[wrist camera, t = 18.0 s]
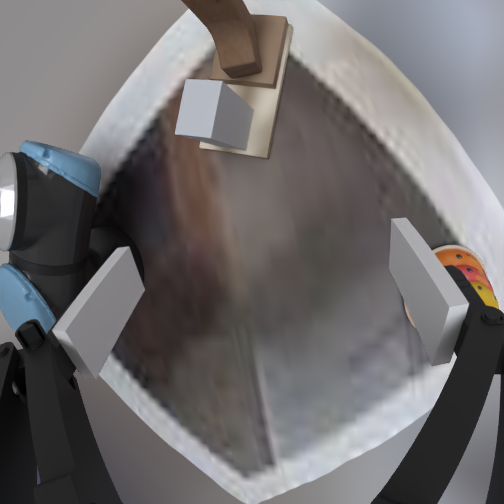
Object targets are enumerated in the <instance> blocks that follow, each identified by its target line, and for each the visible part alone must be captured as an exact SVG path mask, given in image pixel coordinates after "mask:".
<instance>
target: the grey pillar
mask: <svg viewBox="0 0 504 504" xmlns="http://www.w3.org/2000/svg"><path fill="white" fill-rule="evenodd" d="M253 113H254V109H252V108H251V107H250V106H249V105H248V104H247V103H246V102H245V101H244V100H243V99H242V98H241V97H240V96H238V95H237V94H236V93H235V92H234V91H233V90H232V89H231V88H230V87H228V86H227V85H226V84H225V83H224V82H223V81H214V80H192V79H186V82H185V86H184V91H183V96H182V101H181V105H180V110H179V115H178V121H177V126H176V131H175V134H176V135H180V136H184V137H187V138H191V139H194V140H198V141H201V142H204V143H208V144H211V145H215V146H218V147H223V148H230V149H237V150H243V151H246V150H247V145H248V139H249V134H250V129H251V123H252V118H253Z"/></svg>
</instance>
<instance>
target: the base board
mask: <svg viewBox="0 0 504 504" xmlns="http://www.w3.org/2000/svg"><path fill="white" fill-rule="evenodd" d="M250 15H251V17H252V19H253V21H254V25H255V31H256V37H257V42H258V48H259V54H260V60H261V66H262V71H261V72H260V73H256V74H250V75H245V76H240V77H236V78H230V77H229V76H228V75H227V74H226V73H225V72H224V71H223V70H222V69H221V67H220V62H219V57H218V51H217V48H216V51H215V55H214V60H213V64H212V68H211V73H210V77H209V79H211V80H214V81H223V82H224V83H225V84H226V85H227V86H228V87H230V88H231V89H232V90H233V91H234V92H235V93H236V94H237V95H238V96H240V97H241V98H242V99H243V100H244V101H245V102H246V103H247V104H248V105H249V106H250V107H251V108H252V109H254V113H253V118H252V123H251V129H250V134H249V139H248V145H247V150H246V151H243V150H237V149H230V148H223V147H218V146H215V145H211V144H208V143H204V142H200V147H199V148H203V149H210V150H217V151H224V152H230V153H237V154H243V155H249V156H255V157H261V158H267V159H269V155H270V149H271V144H272V138H273V133H274V128H275V122H276V117H277V112H278V106H279V101H280V96H281V90H282V85H283V79H284V74H285V69H286V63H287V58H288V53H289V47H290V42H291V37H292V31H293V27H292V25H290V24H288V21H287V18H286V17H284V16H271V15H252V14H250Z"/></svg>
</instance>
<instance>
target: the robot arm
mask: <svg viewBox="0 0 504 504" xmlns="http://www.w3.org/2000/svg"><path fill="white" fill-rule="evenodd" d="M100 178H101V168H100V166H99V164H98V163H97V162H96V161H95V160H93V159H91V158H89V157H86V156H83V155H80V154H78V153H75V152H71V151H68V150H65V149H62V148H58V147H55V146H51V145H47V144H43V143H39V142H34V141H28V140H26V141H24V142H23V143H22V146H21V147H20V152H19V153H13V152H7V153H4V154H3V155H2V156H1V157H0V250H1V251H9V263H7V264H6V263H5V264H2V265H1V267H0V309H1V311H2V313H3V315H4V317H5V319H6V320H7V322H8V323H9V325H10V326H11V328H12V329H13V330H14V331H15V332H16V333H15V336H16V337H17V339H18V341H19V342H20V343H21V345H22V347H23V348H24V349H20V350H17V349H16V347H15V346H14V344H13V343H12V342H6V343H4V344H1V346H0V504H123V503H122V502H121V500H120V498H119V496H118V493H117V491H116V489H115V487H114V485H113V482H112V480H111V478H110V475H109V473H108V471H107V468H106V466H105V463H104V461H103V458H102V456H101V453H100V451H99V448H98V446H97V443H96V440H95V437H94V434H93V431H92V429H91V426H90V423H89V420H88V417H87V414H86V410H85V407H84V404H83V401H82V397H81V394H80V390H79V387H78V383H77V380H76V378H75V377H74V375H73V373H74V372H75V370H76V369H77V370H78V372H79V373H80V375H81V376H82V378H87V379H95V380H96V379H97V377H98V375H99V373H100V371H101V369H102V367H103V365H104V363H105V361H106V359H107V358H108V356H109V354H110V352H111V350H112V348H113V346H114V344H115V343H116V341H117V339H118V337H119V335H120V333H121V331H122V330H123V328H124V326H125V324H126V322H127V321H128V319H129V317H130V315H131V313H132V312H133V310H134V308H135V306H136V305H137V303H138V301H139V299H140V298H141V296H142V294H143V292H144V291H145V288H144V286H143V278H144V272H143V264H142V260H141V257H140V254H139V252H138V250H137V248H136V246H135V244H134V243H133V241H132V240H131V239H130V238H129V237H128V236H127V235H126V234H125V233H124V232H122V231H121V230H119V229H117V228H115V227H112V226H99V227H95V228H92V222H93V216H94V211H95V205H96V200H97V198H99V194H98V190H99V184H100ZM91 228H92V229H91ZM389 270H390V272H391V274H392V276H393V278H394V280H395V282H396V284H397V286H398V289H399V291H400V293H401V295H402V297H403V299H404V301H405V303H406V306H407V308H408V310H409V312H410V315H411V317H412V319H413V321H414V324H415V326H416V328H417V331H418V333H419V335H420V338H421V340H422V342H423V345H424V347H425V350H426V352H427V355H428V357H429V360H430V362H431V365H432V366H436V365H440V364H445V363H449V362H450V361H451V358H452V355H453V353H454V352H455V354H456V356H457V359H456V361H455V363H454V366H453V368H452V370H451V372H450V375H449V377H448V379H447V381H446V383H445V385H444V387H443V390H442V392H441V394H440V396H439V398H438V400H437V402H436V403H435V405H434V407H433V409H432V411H431V413H430V415H429V417H428V418H427V420H426V422H425V424H424V426H423V427H422V429H421V431H420V433H419V434H418V436H417V438H416V439H415V441H414V443H413V444H412V446H411V448H410V449H409V451H408V453H407V454H406V456H405V457H404V459H403V460H402V462H401V463H400V465H399V467H398V468H397V469H396V471H395V472H394V474H393V475H392V476H391V478H390V479H389V481H388V482H387V484H386V485H385V486H384V488H383V489H382V490H381V492H380V493H379V494H378V495H377V496H376V498H375V499H374V500H373V501H372V502H371V504H437V503H438V501H439V500H440V498H441V496H442V494H443V493H444V491H445V489H446V487H447V486H448V484H449V482H450V480H451V478H452V476H453V474H454V472H455V471H456V469H457V466H458V465H459V462H460V460H461V458H462V456H463V454H464V452H465V450H466V448H467V445H468V443H469V441H470V438H471V436H472V434H473V431H474V429H475V427H476V424H477V422H478V419H479V416H480V414H481V411H482V409H483V406H484V403H485V400H486V397H487V395H488V391H489V389H490V385H491V382H492V379H493V376H494V374H501V392H500V412H499V425H498V435H497V444H496V451H495V458H494V464H493V471H492V476H491V481H490V486H489V491H488V495H487V500H486V504H504V313H503V312H502V311H500V310H499V309H497V308H495V307H492V306H486V304H485V303H484V301H483V300H482V298H481V297H480V296H479V294H478V293H477V291H476V290H475V289H474V287H473V286H472V285H471V283H470V282H469V280H467V278H466V276H465V275H464V274H463V272H462V271H461V270H459V269H458V268H456V267H455V266H453V265H447V266H443V265H442V263H441V262H440V261H439V259H438V258H437V257H436V255H435V254H434V253H433V251H432V250H431V249H430V247H429V246H428V245H427V243H426V242H425V241H424V240H423V238H422V237H421V236H420V234H419V233H418V232H417V231H416V229H415V228H414V227H413V226H412V224H411V223H410V222H409V221H408V219H407V218H396V219H391V242H390V259H389ZM12 384H13V386H14V387H15V388H16V389H17V392H16V394H15V393H14V391H13V388H12ZM37 466H38V471H39V475H40V480H41V483H40V484H39V485H37Z"/></svg>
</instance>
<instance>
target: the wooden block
mask: <svg viewBox="0 0 504 504" xmlns="http://www.w3.org/2000/svg"><path fill="white" fill-rule="evenodd" d="M182 1H183V2H184V4H186V6H187V7H188V8H189V9H190V10H191V11H192V12H193V13H194V14H195V15H196V16H197V17H198V18H199V19H200V21H201V22H202V23H203V24H204V25H205V26H206V27H207V29H208V30H209V32H210V33H211V35H212V37H213V40H214V42H215V45H216V48H217V51H218V57H219V62H220V67H221V69H222V70H223V71H224V72H225V73H226V74H227V75H228V76H229V77H230V78H236V77H240V76H245V75H250V74H256V73H260V72H261V71H262V66H261V60H260V54H259V48H258V42H257V37H256V31H255V25H254V21H253V19H252V17H251V15H250V13H249V11H248V9H247V7H246V6H245V4H244V2H243V0H182Z"/></svg>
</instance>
